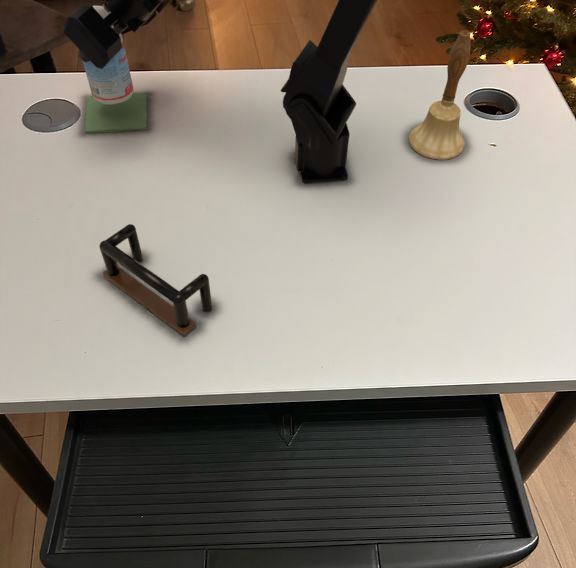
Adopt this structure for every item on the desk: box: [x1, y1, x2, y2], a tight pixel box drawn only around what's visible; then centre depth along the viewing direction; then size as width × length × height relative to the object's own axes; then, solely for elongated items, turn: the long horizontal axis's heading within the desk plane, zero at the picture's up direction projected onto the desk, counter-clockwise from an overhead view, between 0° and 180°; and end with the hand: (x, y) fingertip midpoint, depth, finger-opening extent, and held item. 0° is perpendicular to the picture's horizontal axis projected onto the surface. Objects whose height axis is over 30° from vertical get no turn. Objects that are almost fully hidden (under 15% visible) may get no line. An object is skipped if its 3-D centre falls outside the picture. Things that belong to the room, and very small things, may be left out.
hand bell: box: [408, 30, 471, 161], centre depth 83 cm, size 8×8×16 cm
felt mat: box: [84, 92, 148, 134], centre depth 92 cm, size 9×9×1 cm
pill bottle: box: [82, 5, 134, 105], centre depth 85 cm, size 6×6×11 cm
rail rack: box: [98, 223, 213, 337], centre depth 70 cm, size 5×14×6 cm, turn 50°
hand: (94, 47), depth 84 cm, fingers closed on pill bottle, 6 cm apart
